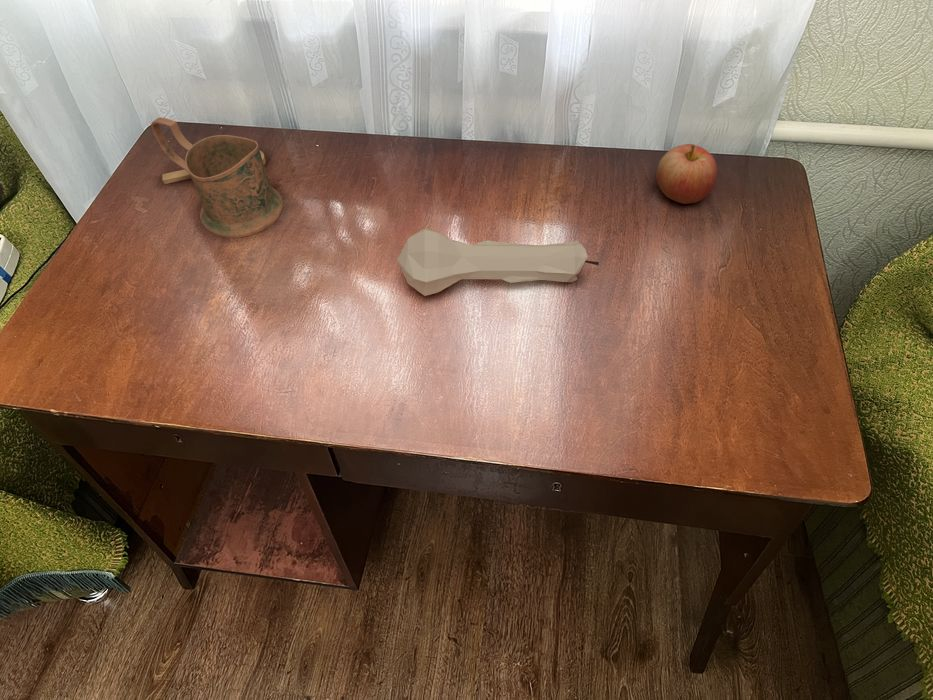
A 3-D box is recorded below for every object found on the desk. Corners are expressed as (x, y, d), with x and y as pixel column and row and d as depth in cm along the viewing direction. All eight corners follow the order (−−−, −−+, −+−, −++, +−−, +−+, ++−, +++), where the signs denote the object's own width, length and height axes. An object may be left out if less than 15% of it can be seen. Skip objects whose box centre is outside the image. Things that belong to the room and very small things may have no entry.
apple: (655, 173, 101) (666, 125, 95) (712, 182, 100) (726, 133, 93) (648, 208, 96) (658, 159, 90) (707, 217, 95) (722, 169, 89)
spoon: (164, 190, 102) (162, 184, 102) (163, 172, 105) (161, 167, 104) (267, 168, 105) (265, 162, 104) (263, 152, 108) (262, 146, 107)
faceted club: (399, 252, 91) (589, 249, 92) (399, 310, 88) (595, 307, 88) (395, 213, 83) (602, 211, 84) (394, 276, 80) (610, 273, 80)
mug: (207, 166, 106) (179, 94, 97) (299, 198, 100) (279, 125, 91) (152, 210, 100) (116, 137, 90) (247, 247, 94) (220, 174, 85)
